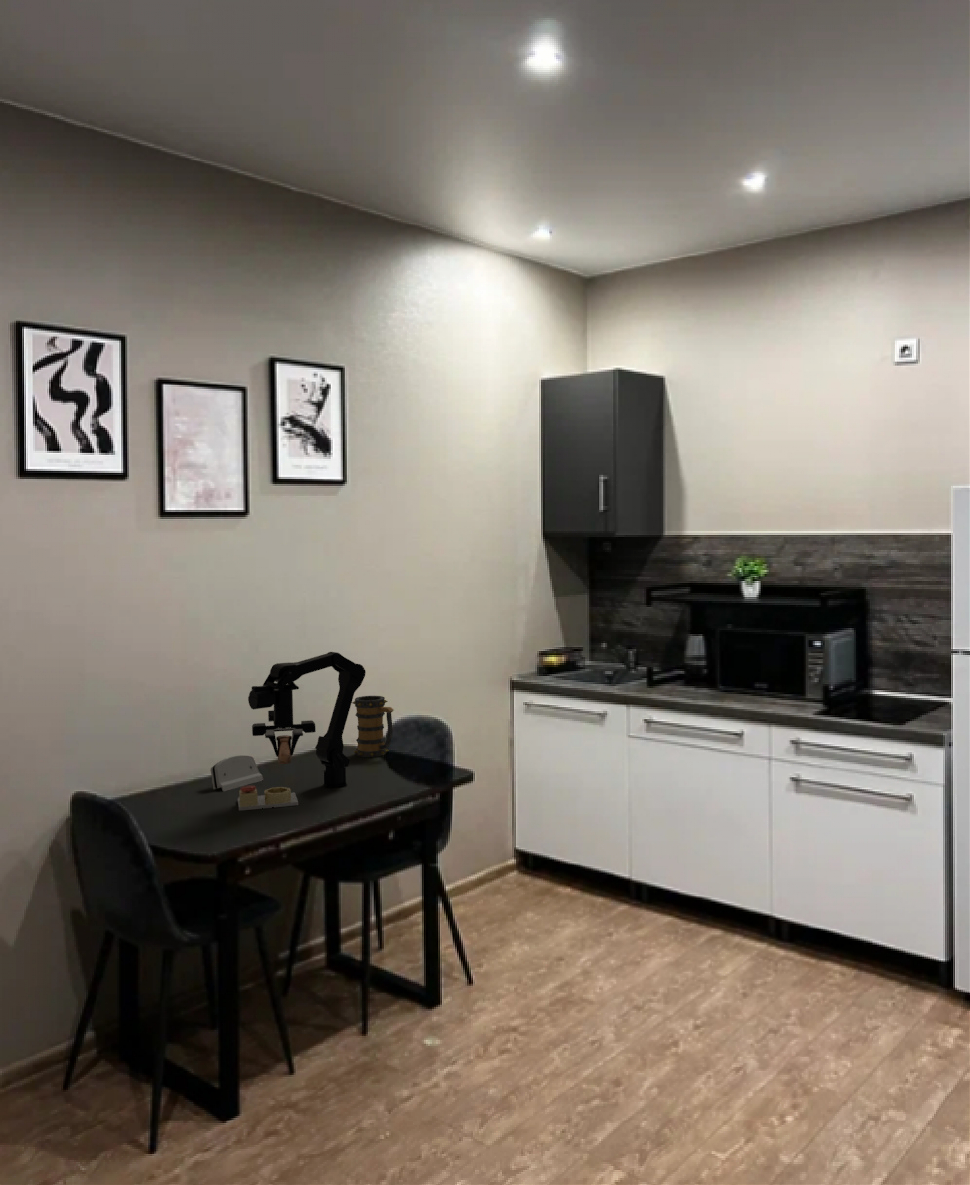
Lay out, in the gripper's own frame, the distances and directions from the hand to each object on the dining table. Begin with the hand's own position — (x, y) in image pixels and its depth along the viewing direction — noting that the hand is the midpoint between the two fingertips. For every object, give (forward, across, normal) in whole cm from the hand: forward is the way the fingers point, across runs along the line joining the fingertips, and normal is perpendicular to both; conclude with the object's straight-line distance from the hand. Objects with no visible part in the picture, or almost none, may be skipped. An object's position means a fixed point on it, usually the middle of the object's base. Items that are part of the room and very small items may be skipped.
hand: (284, 756), depth 314 cm
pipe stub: (+2, 0, 0) cm, 2 cm away
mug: (+12, -34, -46) cm, 58 cm away
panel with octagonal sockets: (+12, +6, +6) cm, 15 cm away
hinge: (+13, +14, -20) cm, 27 cm away
